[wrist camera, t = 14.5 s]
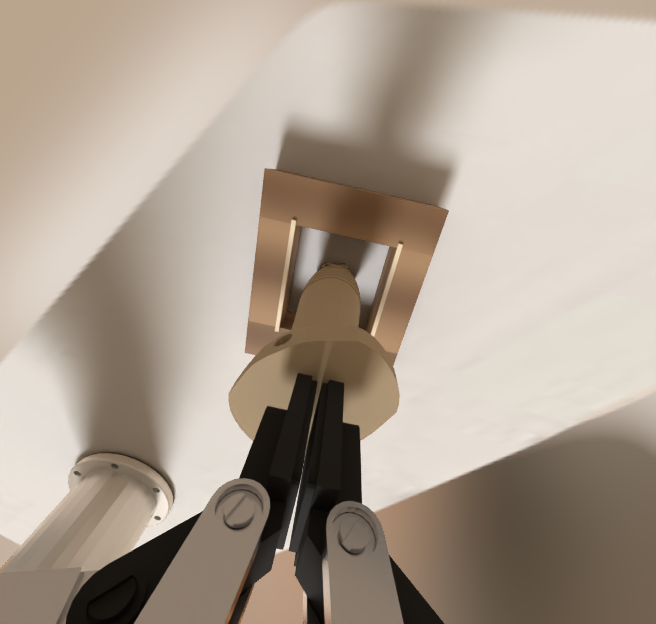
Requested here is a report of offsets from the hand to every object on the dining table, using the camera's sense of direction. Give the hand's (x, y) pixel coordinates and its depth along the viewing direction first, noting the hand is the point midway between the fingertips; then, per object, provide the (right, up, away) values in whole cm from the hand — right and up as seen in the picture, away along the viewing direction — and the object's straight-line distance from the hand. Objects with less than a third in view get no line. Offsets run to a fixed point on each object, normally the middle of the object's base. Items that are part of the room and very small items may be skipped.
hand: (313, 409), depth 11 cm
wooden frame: (+1, +6, +14) cm, 15 cm away
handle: (+1, +6, +14) cm, 16 cm away
